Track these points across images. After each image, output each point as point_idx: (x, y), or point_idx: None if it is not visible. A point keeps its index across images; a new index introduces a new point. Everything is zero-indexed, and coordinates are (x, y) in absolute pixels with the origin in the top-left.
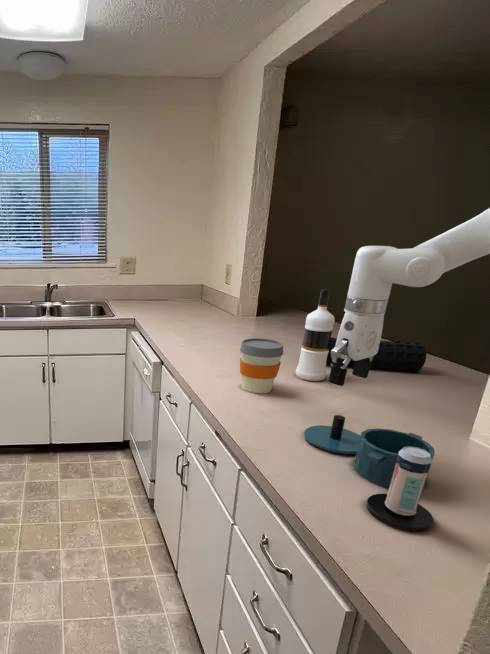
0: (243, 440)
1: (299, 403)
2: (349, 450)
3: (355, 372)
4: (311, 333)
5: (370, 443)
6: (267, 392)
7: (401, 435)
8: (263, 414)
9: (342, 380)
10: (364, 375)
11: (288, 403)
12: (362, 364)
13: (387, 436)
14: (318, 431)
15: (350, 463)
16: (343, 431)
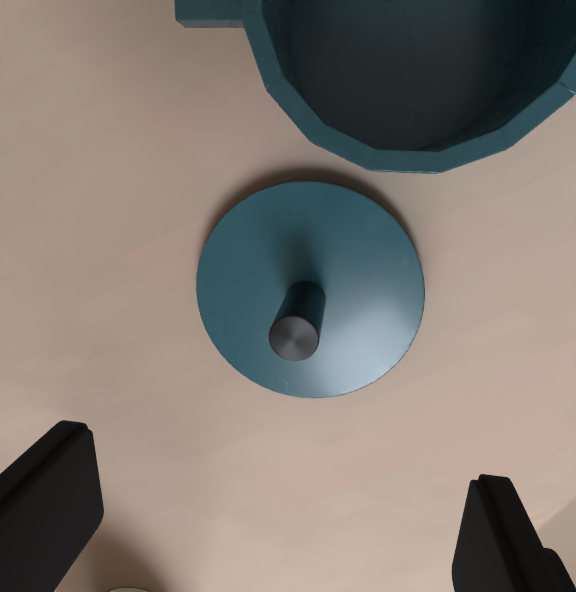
0: (567, 487)
1: (120, 497)
2: (371, 213)
3: (86, 521)
4: None
5: (573, 60)
6: (139, 589)
7: (268, 23)
8: (307, 531)
9: (531, 532)
10: (77, 449)
11: (153, 518)
12: (5, 578)
13: (297, 91)
14: (307, 361)
15: None
16: (224, 305)
